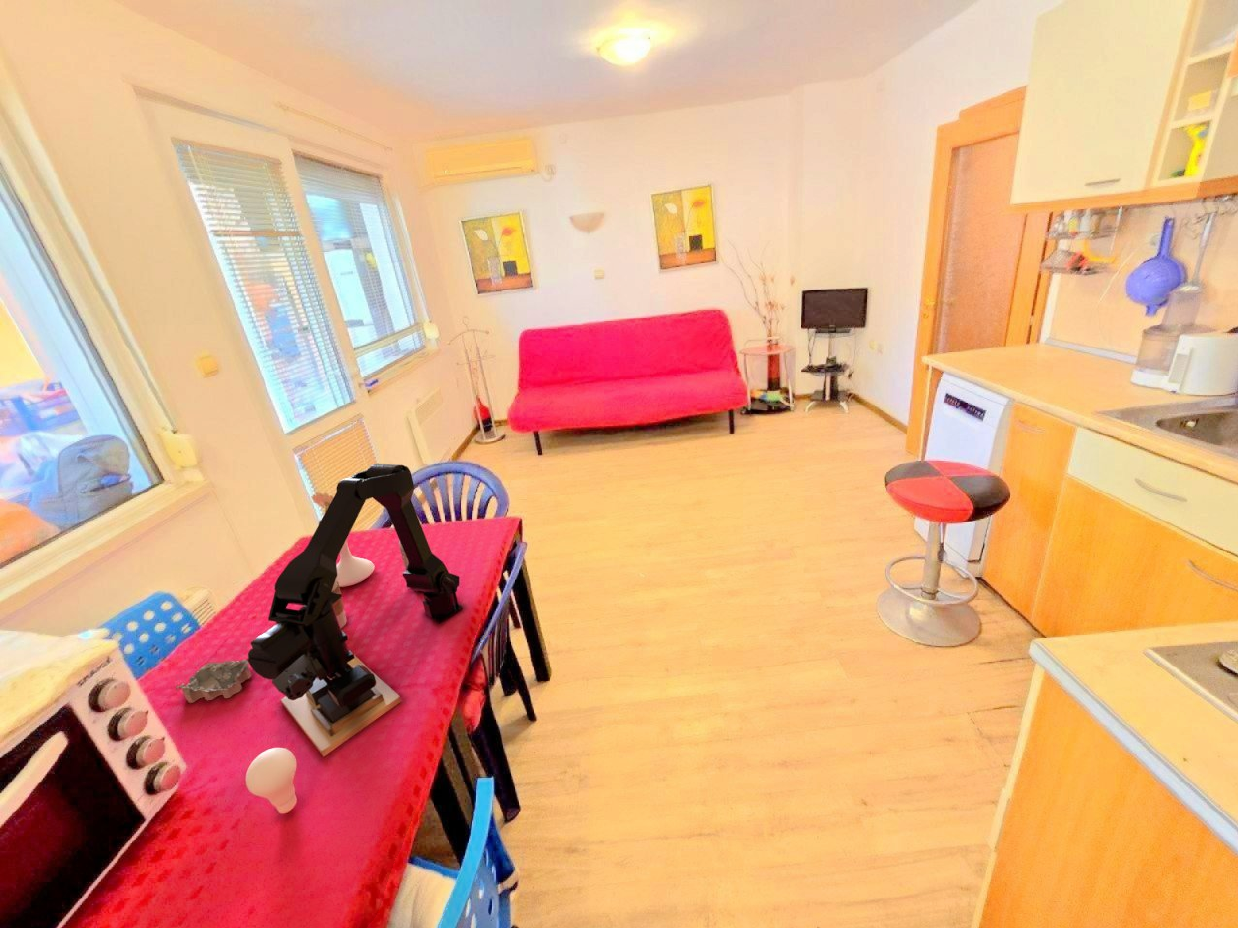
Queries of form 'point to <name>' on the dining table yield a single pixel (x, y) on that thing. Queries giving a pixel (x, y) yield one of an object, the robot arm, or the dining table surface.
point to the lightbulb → (274, 778)
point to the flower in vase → (346, 554)
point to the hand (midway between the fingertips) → (347, 703)
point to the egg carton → (216, 680)
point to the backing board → (335, 734)
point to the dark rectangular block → (333, 709)
